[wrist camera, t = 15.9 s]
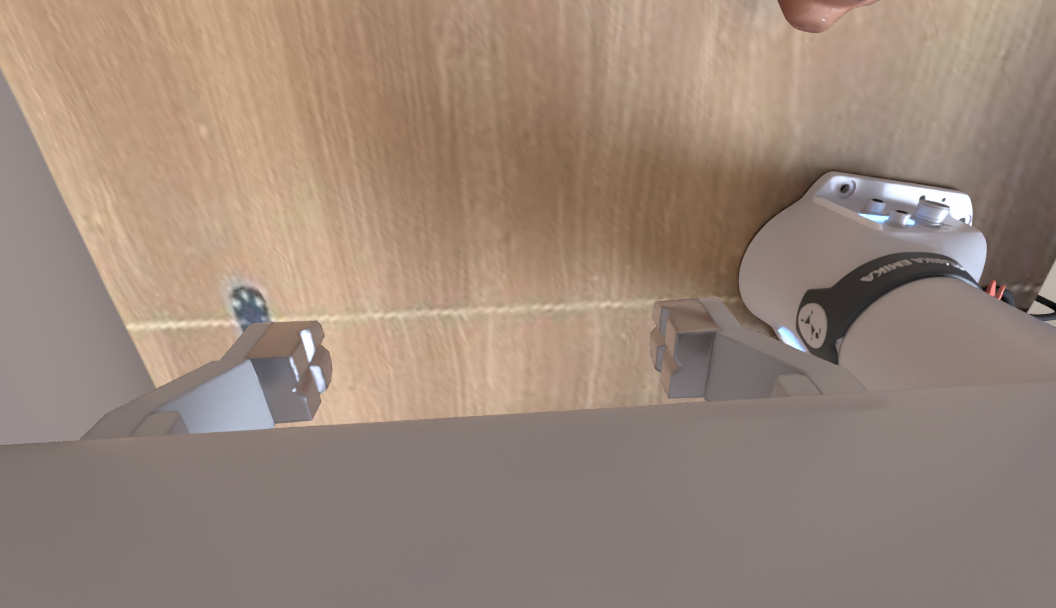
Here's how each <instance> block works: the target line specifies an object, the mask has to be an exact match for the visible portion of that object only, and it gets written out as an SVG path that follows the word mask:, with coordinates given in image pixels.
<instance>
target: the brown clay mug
mask: <svg viewBox="0 0 1056 608" xmlns="http://www.w3.org/2000/svg"><path fill="white" fill-rule="evenodd" d="M877 1H879V0H778V3H779V5H780V7H781V10H782V12H783V14H784V17H785V19H786V20H787V21H788V22H789V23H790V24H791V25H792V26H793V27H794V28H796V29H798V30H801V31H805V32H810V33H820V32H823V31H825V30H827V29H828V28H829V27H831V26H832V25H833V24H834V23H835V22H836V21H837V20H838V19H839V18H841V17H842V16H843V15H844V14H846V13H847V12H848V11H850V10H852V9H854V8H856V7H861V6H867V5H870V4H873V3H875V2H877Z"/></svg>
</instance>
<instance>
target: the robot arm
mask: <svg viewBox="0 0 1056 608" xmlns="http://www.w3.org/2000/svg"><path fill="white" fill-rule="evenodd" d="M844 184H845V187H844V189H843V190H841V191H840V189H841V187H842V186H843V185H844ZM971 225H972V204H971V200H970V197H969V196H968V195H967V194H965V193H963V192H961V191H958V190H953V189H947V188H940V187H934V186H927V185H921V184H914V183H908V182H901V181H895V180H888V179H882V178H875V177H869V176H862V175H856V174H849V173H843V172H836V171H832V172H828V173H826V174H824V175H823V176H821V177H820V178H819V179H818V180H817V181H816V182H815V183H814V184H813V185H812V187H811V188H810V189H809V190H808V191H807V192H806V194H805V195H804V196H803V197H802V198H801V199H800V200H798V201H797V202H796V203H794V204H793V205H791V206H789V207H788V208H786V209H785V210H783V211H781V212H780V213H779V214H777V215H776V216H775V217H773V218H772V219H771V220H770V221H769V222H768V223H767V224H766V225H765V226H764V227H763V228H762V229H761V230H760V231H759V232H758V233H757V235H756V236H755V237H754V239H753V240H752V242H751V243H750V245H749V246H748V248H747V250H746V252H745V255H744V257H743V260H742V263H741V266H740V271H739V290H740V294H741V297H742V300H743V302H744V304H745V305H746V307H747V308H748V309H749V311H750V312H751V313H752V314H753V315H755V316H756V317H757V318H759V319H761V320H762V321H764V322H765V323H767V324H768V325H770V326H771V327H772V328H773V330H774V332H775V334H776V335H777V337H778V338H779V339H780V341H782V342H780V341H778V340H776V339H773V338H771V337H768V336H766V335H764V334H761V333H759V332H757V331H754V330H752V329H746V330H745V329H744V328H743V327H742V325H741V324H740V323H739V322H738V320H737V319H736V318H735V317H734V316H733V314H732V313H731V312H730V311H729V309H728V308H727V307H726V306H725V304H724V303H723V302H722V301H721V299H720V298H718V297H716V296H714V297H704V298H691V299H678V300H666V301H657V302H655V303H654V306H653V312H652V318H653V320H654V322H655V324H656V327H655V328H654V329H653V330H652V332H651V333H650V354H651V359H652V363H653V365H654V368H655V369H656V370H657V371H659V372H661V379H660V381H661V383H662V386H663V388H664V390H665V392H666V394H667V396H668V399H670V398H698V397H704V399H705V400H707V401H708V402H694V403H678V404H662V405H646V406H630V407H614V408H597V409H581V410H565V411H549V412H533V413H517V414H501V415H484V416H468V417H452V418H436V419H419V420H403V421H387V422H371V423H355V424H338V425H322V426H306V427H290V428H273V427H274V426H275V424H277V423H288V422H300V421H311V420H313V418H314V416H315V414H316V411H317V409H318V407H319V405H320V403H321V398H320V395H319V394H321V393H322V392H324V391H325V390H327V388H328V386H329V384H330V382H331V376H332V361H331V357H330V353H329V351H328V350H327V349H325V348H324V347H323V346H322V345H321V342H322V340H323V338H324V333H323V329H322V326H321V324H320V323H319V322H318V321H291V322H265V323H255V324H250V325H249V327H248V328H247V329H246V330H245V331H244V332H243V334H242V335H241V336H240V337H239V338H238V340H237V341H236V342H235V343H234V344H233V345H232V347H231V348H230V349H229V350H228V351H227V352H226V354H225V355H224V356H223V357H222V358H221V360H219V361H212V362H210V363H208V364H206V365H204V366H202V367H200V368H198V369H196V370H194V371H192V372H189V373H187V374H185V375H183V376H181V377H179V378H177V379H175V380H173V381H171V382H169V383H167V384H165V385H163V386H161V387H159V388H157V389H155V390H153V391H151V392H149V393H147V394H145V395H143V396H141V397H139V398H137V399H135V400H133V401H131V402H129V403H127V404H125V405H123V406H121V407H119V408H117V409H115V410H113V411H111V412H109V413H107V414H105V415H104V416H103V417H102V418H101V419H100V420H99V421H98V422H97V423H96V424H95V425H94V426H93V427H92V428H91V429H90V430H89V431H88V432H87V433H86V434H85V435H84V436H83V437H82V438H81V439H80V440H79V441H63V442H47V443H31V444H14V445H0V608H1056V327H1054V326H1052V325H1050V324H1048V323H1046V322H1044V321H1049V320H1055V319H1056V303H1055V302H1053V301H1051V300H1048V299H1046V298H1044V297H1042V296H1040V295H1037V297H1036V299H1035V300H1034V301H1036V302H1039V303H1041V304H1043V305H1045V306H1047V307H1049V308H1050V309H1052V310H1054V311H1055V312H1054V313H1050V314H1040V315H1036V314H1034V315H1033V314H1027V313H1025V312H1023V311H1021V310H1019V309H1017V308H1016V307H1015V300H1014V296H1013V294H1012V293H1011V292H1010V291H1008V290H1006V289H1005V286H1004V285H1002V286H1001V287H1000V288H995V287H996V281H994V280H992V281H991V282H990V283H989V285H988V287H987V289H984V290H982V287H981V286H979V284H978V282H979V279H980V277H981V274H982V271H983V268H984V264H985V260H986V252H987V246H986V240H985V238H984V236H983V234H982V233H981V231H980V230H978V229H977V228H975V227H973V226H971ZM994 295H995V296H994ZM1001 296H1003V297H1004V299H1005V302H1003V301H1001V300H1000V299H1001ZM271 428H273V429H271Z"/></svg>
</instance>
